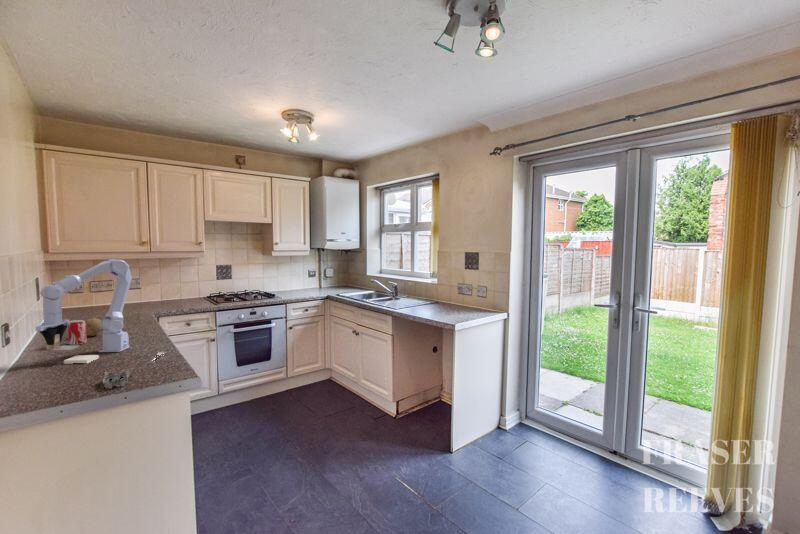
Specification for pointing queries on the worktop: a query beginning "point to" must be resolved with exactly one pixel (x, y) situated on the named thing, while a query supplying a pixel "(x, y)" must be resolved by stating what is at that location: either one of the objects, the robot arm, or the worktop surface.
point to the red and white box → (77, 332)
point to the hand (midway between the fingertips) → (54, 343)
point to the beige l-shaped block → (57, 345)
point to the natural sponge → (93, 326)
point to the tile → (81, 359)
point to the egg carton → (115, 378)
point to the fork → (157, 354)
